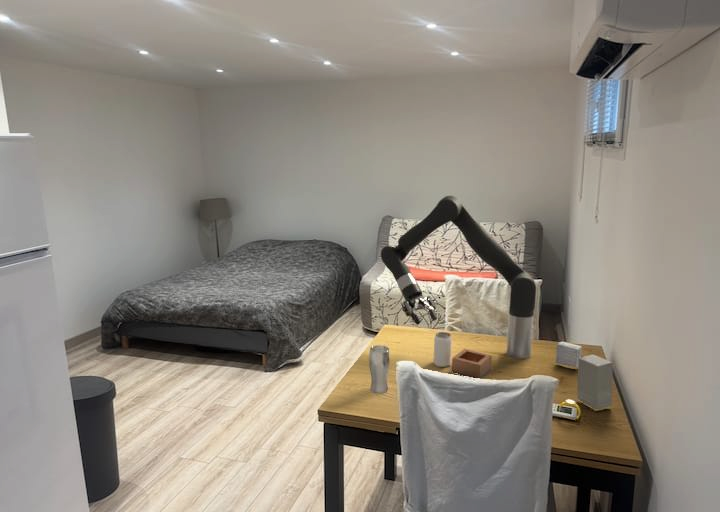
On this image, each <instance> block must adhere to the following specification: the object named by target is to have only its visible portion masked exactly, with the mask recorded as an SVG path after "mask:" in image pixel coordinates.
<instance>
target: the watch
mask: <svg viewBox="0 0 720 512" xmlns="http://www.w3.org/2000/svg"><path fill="white" fill-rule="evenodd" d="M564 405H568V406H571V407H575V408H576V409H577V411H578V414H577V416H576V417H577V420H578V419H579V418H580V417H581V408H580V406H579V405H578V404H577V403H576V400H573V399H570V398H567V399H566V400H565V401H563V402H561V403H560V404H559V407H558V413H559V412H560V410H562V407H563V406H564Z"/></svg>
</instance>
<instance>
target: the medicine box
mask: <svg viewBox="0 0 720 512" xmlns="http://www.w3.org/2000/svg"><path fill="white" fill-rule="evenodd" d="M582 350H583V346H581V345H579V344H574V343H570V342H566V341H560V342H558V344H556V354H555V356H556V358H555V364H556V363H558V364H563V365H568V366H572V367H578V363H579V358H580V357H582V353H583V352H582Z"/></svg>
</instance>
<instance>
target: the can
mask: <svg viewBox="0 0 720 512" xmlns="http://www.w3.org/2000/svg"><path fill="white" fill-rule="evenodd" d="M452 340H453V339H452V337H451V334H450V333H449V332H443V331H440V332H439V331H438V332H436V333H435V336H434V341H433V343H434V346H433V364H434V365H435V367H438V366H439V367H438V368H448V367H450V366H451V365H452ZM449 365H450V366H449ZM447 366H448V367H447Z"/></svg>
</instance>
